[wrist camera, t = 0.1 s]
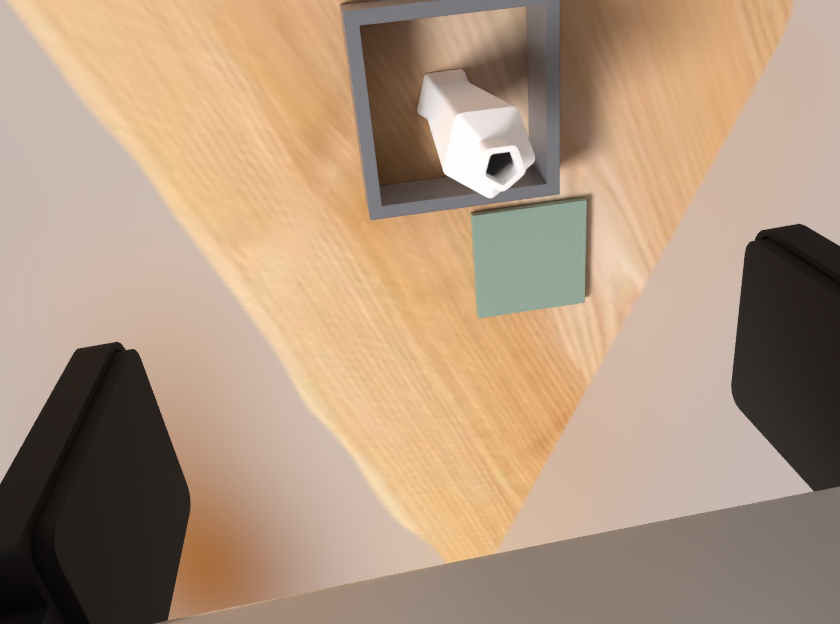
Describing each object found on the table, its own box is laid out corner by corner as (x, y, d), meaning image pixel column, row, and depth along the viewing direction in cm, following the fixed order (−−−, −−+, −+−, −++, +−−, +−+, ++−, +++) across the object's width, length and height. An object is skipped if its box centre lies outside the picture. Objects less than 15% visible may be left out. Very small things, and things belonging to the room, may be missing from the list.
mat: (470, 212, 49) (472, 215, 49) (583, 197, 50) (586, 200, 49) (477, 314, 53) (478, 318, 53) (581, 298, 54) (584, 302, 53)
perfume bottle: (496, 83, 45) (572, 145, 32) (459, 143, 47) (518, 227, 34) (435, 45, 44) (488, 95, 31) (399, 109, 45) (436, 182, 32)
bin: (339, 4, 42) (342, 11, 38) (539, -19, 43) (559, -14, 39) (366, 198, 48) (370, 220, 44) (541, 175, 49) (559, 194, 45)
